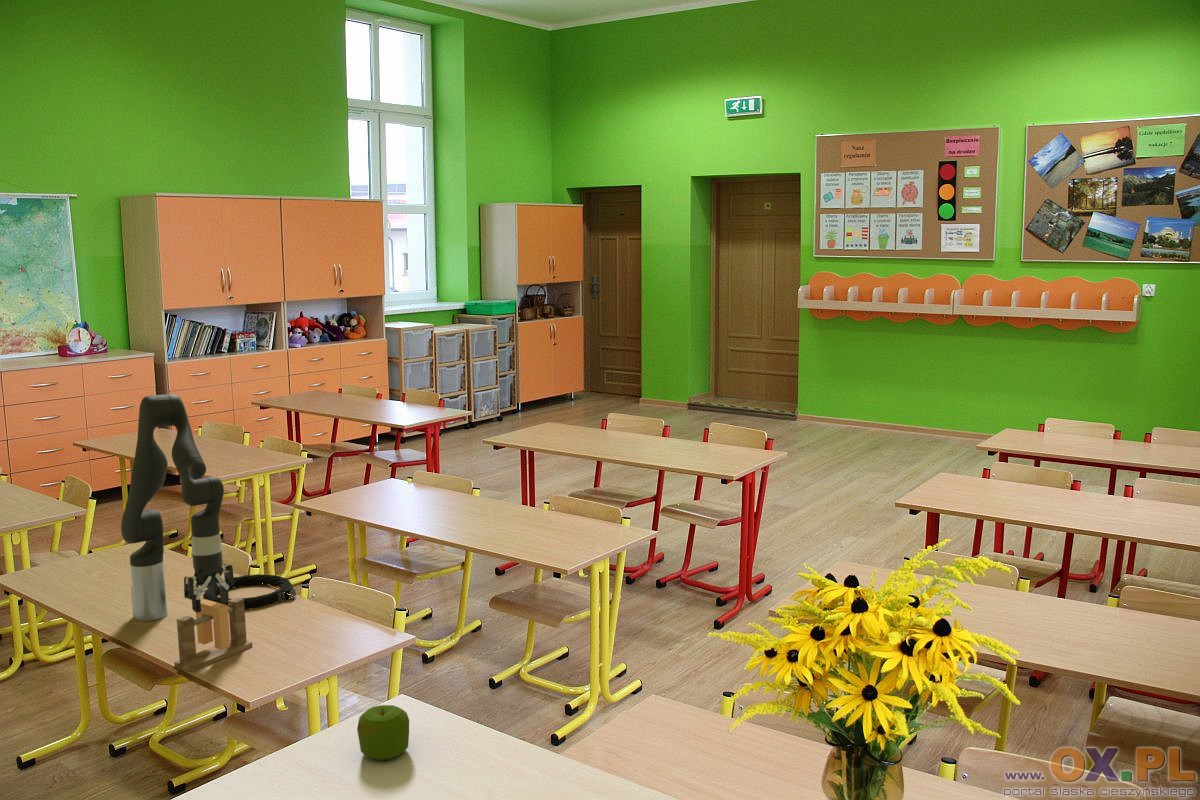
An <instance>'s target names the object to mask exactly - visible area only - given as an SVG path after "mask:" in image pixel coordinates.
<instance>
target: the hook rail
mask: <svg viewBox="0 0 1200 800" xmlns="http://www.w3.org/2000/svg"><path fill="white" fill-rule="evenodd" d="M230 599H231V600H229V601H228V620H229V635H230V647H228V648H225V649H223V650H221V649H217V648H215V645H213V646H210V647H209V648H205V649H204V650H201V651H198V652H197V647H196V645H197V644H196V634H195V631H196V630H195V626H197V625H198V624H201V623H203V622H206V621H209V620H211V619H212V620H213V616H209V615H205V616H203V617H200V618H197V619H196V618H194V617H192V616H189V615H184V616H182V617H179V618H176V628H177V629H176V631H177V640H178V642H177V643H178V655H179V660H176V661H174V662H173V663H174V667H175V668H178V669H181V670H185V671H188V672H190V673H191V672H193V671H194V672H195V671H196V670H199V669H201V668H203V667H206V666H208V665H210V664H213V663H216V662H219V661H220V660H223V659H225V658H227V657H230V656H232V655H234V654H235V655H236V654H238V653H239V652H242V651H244V650H246V649H249V648H252V647H253V641H251V640H250V641H249V640H247V628H246V627H247V625H246V611H245V610H246V609H245V608H244V599H241V598H240V597H234V598H230Z"/></svg>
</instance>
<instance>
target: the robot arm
mask: <svg viewBox="0 0 1200 800" xmlns="http://www.w3.org/2000/svg"><path fill="white" fill-rule="evenodd" d="M137 427H138V428H137V439H136V447H135V453H134V457H133V463H132V468H131V476H130V484H129V490H128V495H127V501H126V503H125V506H124V510H123V514H122V518H121V525H120V531H121V537H122V538H123V541H125V543H127V544H138V543H143V542H145V543H144V544H143V545H142V546H141V547H140V548H138V549H137V550H135V551H133V552H132V553H131V554H130V556H129V562H130V564H129V566H130V576H131V587H130V591H131V592H130V594H131V605H132V606H131V607H132V616H133V617H134V620H136V621H137V622H153V621H157V620H161V619H162V618H164V617H166V616H167V615H168V606H167V605H168V603H167V590H166V577H165V566H164V565H165V563H164V552H165V549H164V548H165V547H164V521H163V518H162V515H161V513H160V511H159V510H157V509H155V508H151V509H145V508H146V506H147V505H148V503H150V501H151V500H152V499H153V498H154V497H155V496H156V495H157V494H158V492H159V491H160V490H161V488H162V487H163V486H164V483H165V481H166V477H167V470H168V459H167V456H166V455H165V453H164V451H163V450H162V449H161V447H160V445H159V444H158V443H157V441H156V439H155V437H154V436H155V435H154V431H155V429H156V428H166V427H175V429H176V432H177V433H176V436H175V440H174V442H173V445H172V447H171V448H172V449H171V458H172V461H173V465H174V467H175V468H176V471H177V472H178V475H179V479H180V485H181V496H182V501H183V502H184V503H185V504H186V505H188V506H189V507H190V506H191V507H196V506H201V505H206V506H205V508H204V509H202V510H200V511H198V512H196V513H194V514H193V515H192V516H191V518H190V524H191V525H190V526H191V554H192V555H191V556H192V567H193V570H194V575H191V576H184V578H183V595H184V596H183V597H184V598H185V599H188V600H191V605H192V606H191V608H192V609H191V610H192V611H193V612H195V613H196V612H197V613H199V612H201V600H202V599H200V598H201V597H202V595H203V594H204V593H205V592H204V591H205V590H207V589H208V588H209V587H211V586H215V585H218V586H219V587H220V588H221V589H220V593H219V597H220V601H221V602H222V603H227V602H228V599H230V597H229V596H230V595H229V590H230V589H229V587H230V586H231V585H232V586H233V585H234V577H235V576H234V569H233V565H232V564H227V563H224V562H223V549H222V548H223V547H222V538H221V533H220V531H221V530H220V520H219V519H220V512H221V506H222V502H223V499H224V494H225V487H224V484H223V481H222V480H221V479H220V478H219V477H218V476H208V477H204V476H205V475H206V472H207V467H206V464H205V462H204V460H203V458H202V456H201V454H200V452H199V450H198V447H197V445H196V441H195V439H194V435H193V431H192V428H191V424H190V420H189V417H188V412H187V410H186V407H185V405H184V402H183V400H182V398H181V397H180V396H179V395H178V394H175V393H166V394H151V395H147V396H144V397H143V398H142V399H141V401H140V404H139V410H138V426H137ZM222 576H223V577H222Z"/></svg>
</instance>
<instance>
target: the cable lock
mask: <svg viewBox="0 0 1200 800" xmlns="http://www.w3.org/2000/svg"><path fill="white" fill-rule="evenodd" d="M262 583H263V584H265V585H263V584H262ZM256 584H258V586H259V584H261V585H260V586H273V587H275V588H276V587H278V589H277V590H274V591H273V592H270V593H265V594H262V595H258V596H253V597H252V596H251V597H244V598H243V597H242V598H241V599H244V608H245V610H250V608H252V609H256V608H261V607H262V606H263V607H266V605H267V606H270V605H269V604H271V605H272V604H275V603H282V602H284V601H287V600H288V599H289V598H290V600H291V597H292V598H294V599H295V598H296V596H297V592H296V589H295V588H294V587H293V584H292V583H291V581H290V580H289V579H287V578H286V577H284V576H280V575H277V574H276V575H273V574H262V573H261V574H260V573H257V574H249V575H248V574H246V575H242V576H234V585H233V586H232V585H231V586H230V587H229V589H228V590H230V588H232V589H234V588H233V587H237V588H240V587H239V586H241V587H245V586H256ZM220 589H221V588H220V587H219V586H218V585H215V586H211V587H209V588H206V589H205V591H204V592H203V593H202V597H203V598H202V599H206V600H210V601H213V602H217V603H221V604H225V605H228V602H227V603H222V602H221V601H220V596H217V595H220ZM284 592H285V593H284ZM287 593H288V594H291V595H288V594H287ZM292 595H293V596H292ZM294 596H295V597H294ZM231 599H232V598H229V599H228V601H229V600H231ZM277 601H278V602H277ZM288 601H289V600H288Z"/></svg>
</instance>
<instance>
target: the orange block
mask: <svg viewBox="0 0 1200 800" xmlns="http://www.w3.org/2000/svg"><path fill="white" fill-rule="evenodd" d="M200 600H201V612H199V613H197V612H195V619H197V618H200V617H203V616H205V615H209V616H213V619H211V620H209V621H206V622H203V623H201V624H198V625H196V635H197V643H198V644H201V645H207V644H211V643H212V642H214V646H215V648H217V649H221V650H223V649H225V648H228V647H230V640H231V637H230V622H229V613H228V605H225V604H221V603H217V602H213V601H210V600H206V599H203V598H202V599H200ZM212 621H213V622H212Z"/></svg>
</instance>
